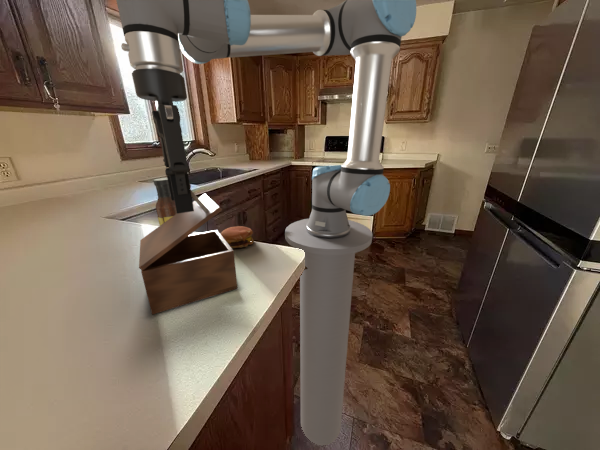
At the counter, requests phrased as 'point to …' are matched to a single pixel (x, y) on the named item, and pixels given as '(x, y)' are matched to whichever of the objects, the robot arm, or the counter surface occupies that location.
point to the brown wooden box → (190, 272)
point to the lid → (176, 230)
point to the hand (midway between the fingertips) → (181, 205)
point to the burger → (238, 236)
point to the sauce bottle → (164, 201)
